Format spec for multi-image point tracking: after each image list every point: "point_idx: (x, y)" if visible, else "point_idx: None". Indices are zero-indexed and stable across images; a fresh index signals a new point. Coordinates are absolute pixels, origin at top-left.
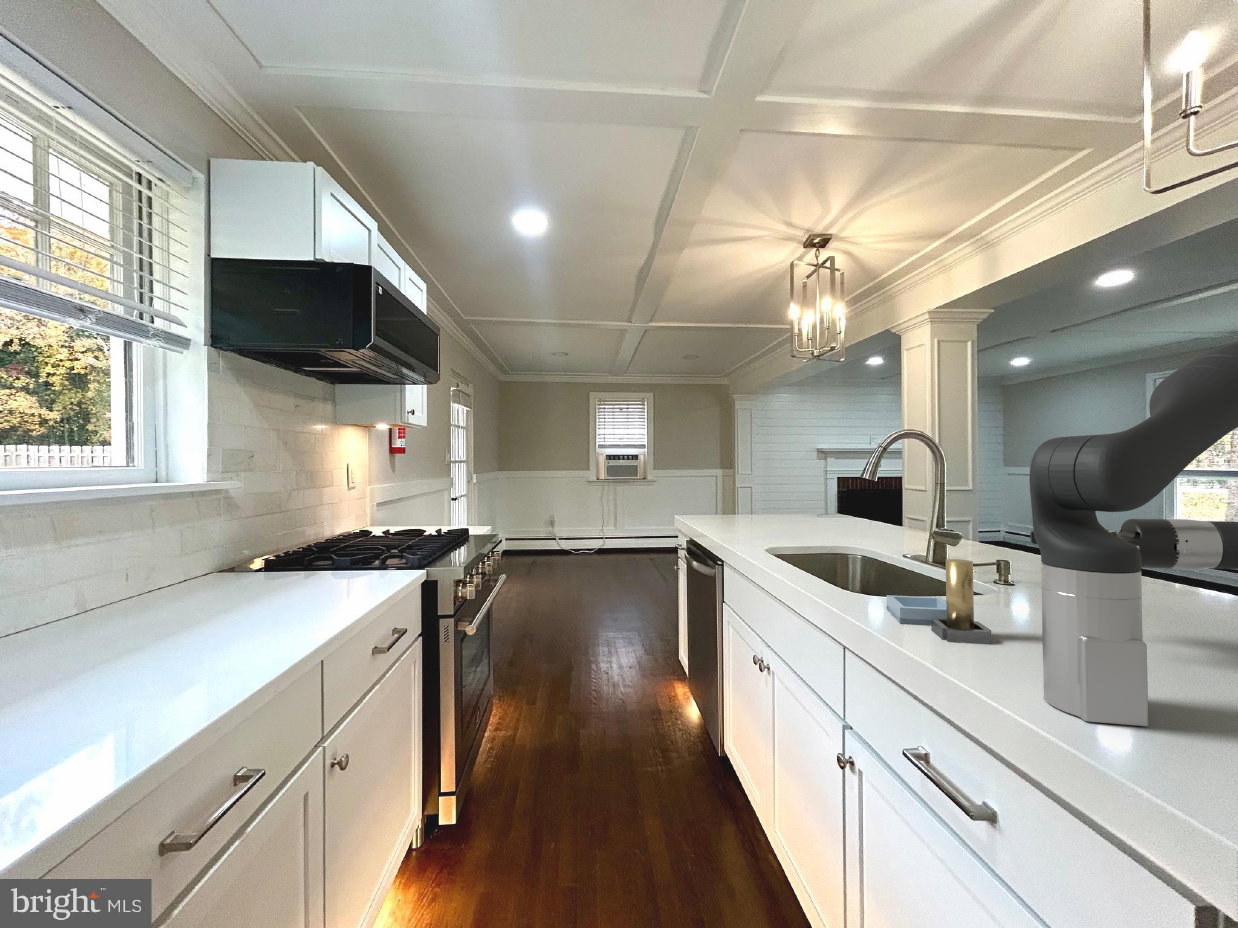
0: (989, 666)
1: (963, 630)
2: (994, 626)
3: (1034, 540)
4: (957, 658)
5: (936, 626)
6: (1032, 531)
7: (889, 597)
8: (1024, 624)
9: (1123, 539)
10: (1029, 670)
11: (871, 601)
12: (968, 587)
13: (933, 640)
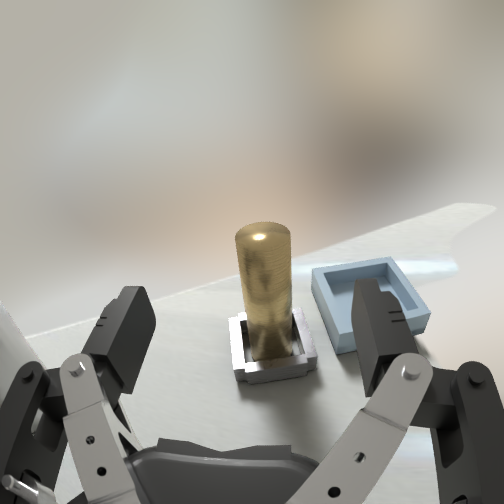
0: None
1: (231, 336)
2: None
3: (352, 313)
4: (162, 333)
5: None
6: (365, 279)
7: (377, 259)
8: (426, 451)
9: (7, 487)
10: (123, 396)
11: (430, 262)
12: (244, 289)
13: None
